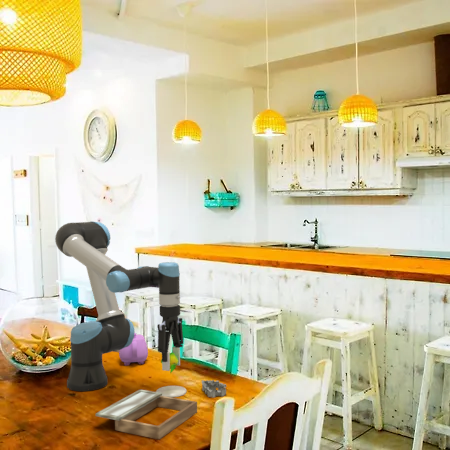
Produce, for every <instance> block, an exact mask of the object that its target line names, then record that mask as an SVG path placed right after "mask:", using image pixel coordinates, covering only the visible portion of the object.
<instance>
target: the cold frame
mask: <svg viewBox="0 0 450 450" xmlns="http://www.w3.org/2000/svg"><path fill="white" fill-rule="evenodd" d="M157 407H158V408H163V409H171V410H176V411H178V412H176V413H175V414H173V415H172V416H171V417H169V418H167V419H165V420H164V421H163V422H162V423H160V424H158V425H154V424H150V423H144V422H141V421H140V422H139V421H136V420H138V419H140V418H141V417H142V416H144V415H146V414H148V413H149V412H151V411H152V410H153V409H155V408H157ZM196 413H198V402H197V401H194V400H188V399H182V398H177V397H172V398H171V397H165V396H162V393H159V392H156V391H151V390H147V389H138V390H136V391H135V392H133V393H131V394H129V395H127V396H126V397H123V398H122V399H120V400H118V401H116V402H114V403H112V404H111V405H109V406H107V407H105V408H103V409H101V410H99V411H98V412H96V413H95V417H99V418H103V419H108V420H109V419H110V420H114V430H115V431H118V432H122V433H126V434H131V435H136V436H141V437H146V438H151V439H155V440H161V439H163V438H164V437H165V436H167V434H169V433H171V432H172V431H173V430H175V429H176V428H178V427H179V426H180V425H181V424H183V423H184V422H186V421H187V420H189V419H190V418H191V417H193V416H194V415H195V414H196Z"/></svg>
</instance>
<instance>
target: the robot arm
mask: <svg viewBox="0 0 450 450" xmlns="http://www.w3.org/2000/svg"><path fill="white" fill-rule="evenodd" d="M54 242H55V245H56V247H57V249H58V250H59V252H61V253H63V254H64V255H65V256H67V257H69V258H70V257H71V258H74V259H75V260H77V261H78V262H79V263H81V264H82V265H83V266H85V267H86V271H87V276H88V278H89V279H88V280H89V283H90V287H91V292H92V296H93V299H94V304H95V308H96V311H97V314H98V316H97V318H96V319H95V321H86V322H82V323H78V324H76V325H74V326H73V327H72V329H71V331H70V338H69V340H70V341H69V342H70V359H71V360H70V362H71V365H70V368H69V369H70V370H69V372H68V376H67V377H68V378H67V380H66V388H67V389H68V388H69V389H68V390H71V391H75V392H90V391H94V390H99V389H102V388H104V387H106V386H107V385H108V376H107V374H106V370H105V368H104V364H103V355H105V354H107V353H111V352H114V351H116V350H121V349H123V348H125V347H128V346H129V345H130V344H131V343H132V341H133V339H134V334H135V333H136V332H135V326H134V324H133V322H132V321H131V320H130V319H129V318H127V317H126V315H125V313H124V312H122V311H121V310H120V306H119V304H118V299H117V295H116V294H117V293H125V292H129V291H134V290H141V289H146V288H156V289H158V300H159V301H158V303H159V305H160V306H159V316H160V317H161V318H162V322H161V323H160V324H158V323H157V352H158V353H161V360H162V363H161V366H162V367H161V368H162V369H161V370H162V371H168V372H170V354H169V353H170V352H169V347H170V346H169V345H170V339H171V340H172V344H173V347H172V353H174V354H175V356H176V357H177V359H178V363H177V366H181V348H183V346H184V345H183V344H184V335H183V334H184V332H183V317H179V316H180V315H181V305H180V304H181V300H180V299H181V295H180V293H181V291H180V289H181V288H180V286H181V285H180V266H179V264H178V263H177V262H175V261H174V262H172V261H171V262H168V261H167V262H160V263H159V264H158V267H156V266H149V265H146V266H138V267H137V268H130V269H126V268H125V267H123V266H122V265H120V264H119V263H117V262H116V261H114V260H113V259H111V258H110V257H108V255H106V254H107V252H108V251H109V249H108V247H109V246H110V243H111V233H110V231H109V229H108V227H107V226H106V225H105V224H104V223H102V222H101V221H100V222H99V221H84V222H83V221H82V222H81V221H80V222H68V223H65V224H63V225H62V226H60V227H59V228H58V230H57V232H56V233H55V236H54Z"/></svg>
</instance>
